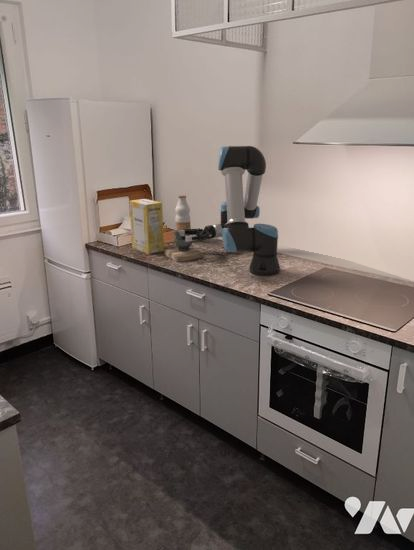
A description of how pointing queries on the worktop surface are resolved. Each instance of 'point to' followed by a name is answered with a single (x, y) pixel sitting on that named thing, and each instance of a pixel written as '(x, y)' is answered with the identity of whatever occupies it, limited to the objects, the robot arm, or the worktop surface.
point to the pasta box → (146, 225)
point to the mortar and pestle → (182, 242)
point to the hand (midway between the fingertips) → (179, 236)
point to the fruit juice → (182, 214)
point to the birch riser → (182, 254)
